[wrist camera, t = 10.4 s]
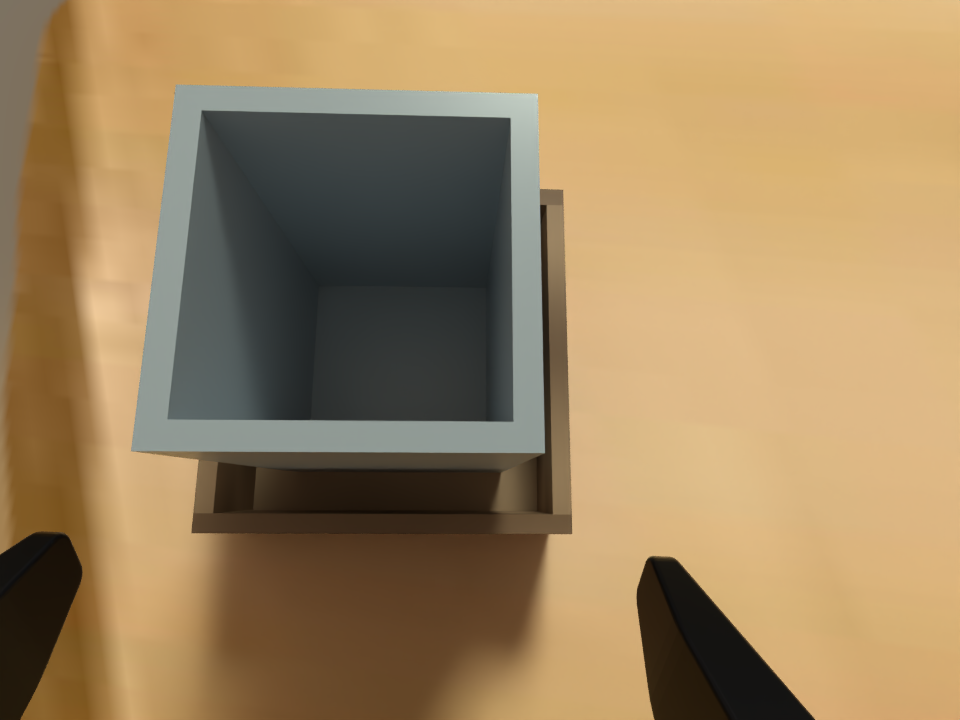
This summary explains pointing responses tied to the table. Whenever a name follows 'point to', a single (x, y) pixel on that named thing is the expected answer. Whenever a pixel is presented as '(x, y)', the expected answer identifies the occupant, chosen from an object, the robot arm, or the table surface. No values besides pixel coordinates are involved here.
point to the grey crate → (347, 282)
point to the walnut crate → (420, 495)
